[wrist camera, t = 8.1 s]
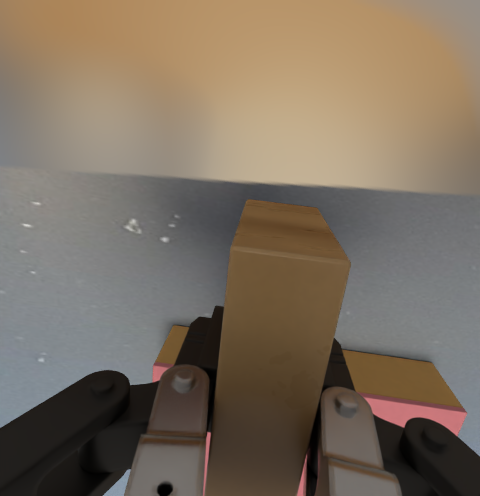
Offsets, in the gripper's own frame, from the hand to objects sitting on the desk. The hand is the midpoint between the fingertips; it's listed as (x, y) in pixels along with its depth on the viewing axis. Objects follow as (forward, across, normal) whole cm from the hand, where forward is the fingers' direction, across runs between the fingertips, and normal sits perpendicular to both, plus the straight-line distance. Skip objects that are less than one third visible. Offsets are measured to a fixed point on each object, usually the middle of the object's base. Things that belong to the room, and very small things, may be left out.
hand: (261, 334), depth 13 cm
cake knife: (0, 0, +5) cm, 5 cm away
